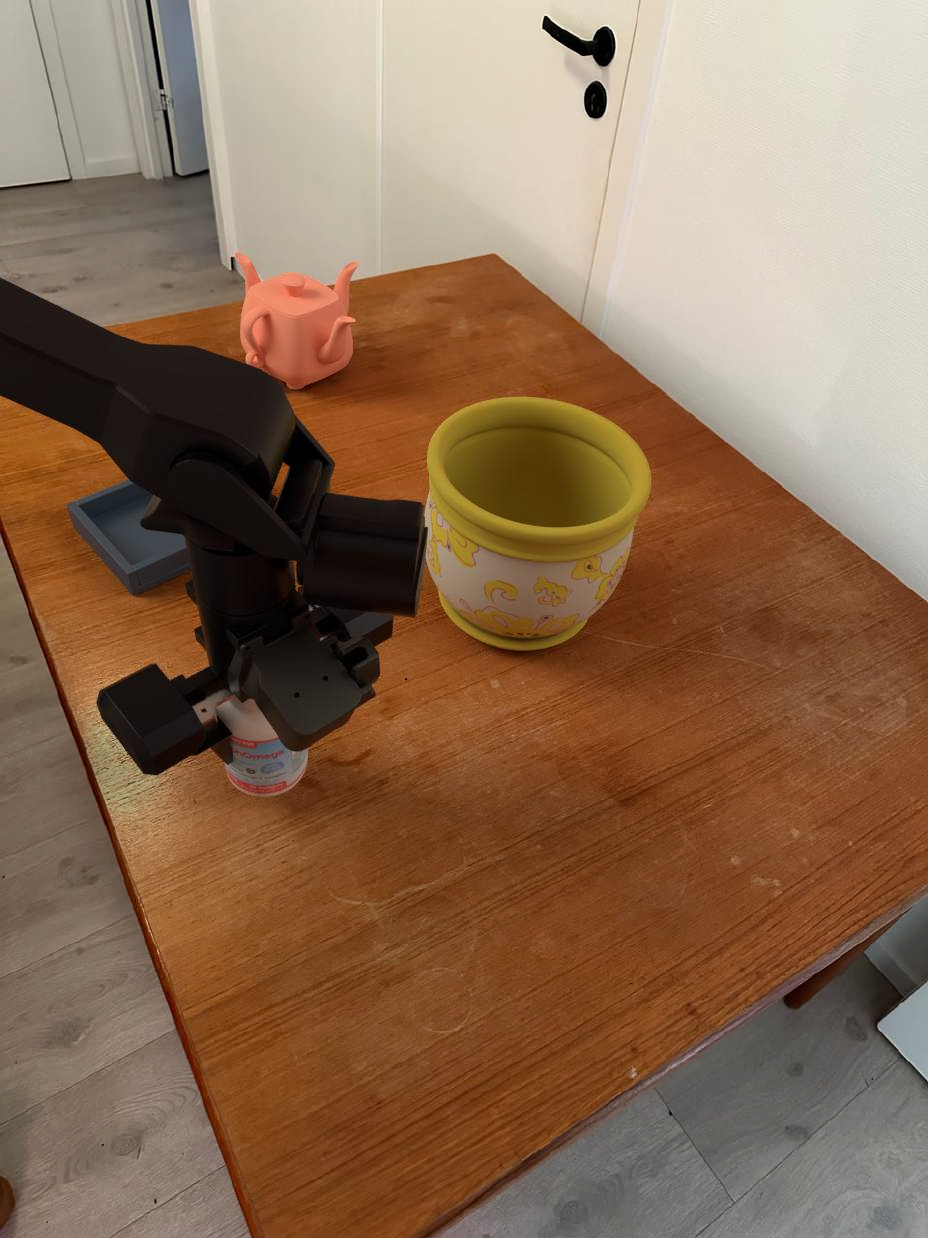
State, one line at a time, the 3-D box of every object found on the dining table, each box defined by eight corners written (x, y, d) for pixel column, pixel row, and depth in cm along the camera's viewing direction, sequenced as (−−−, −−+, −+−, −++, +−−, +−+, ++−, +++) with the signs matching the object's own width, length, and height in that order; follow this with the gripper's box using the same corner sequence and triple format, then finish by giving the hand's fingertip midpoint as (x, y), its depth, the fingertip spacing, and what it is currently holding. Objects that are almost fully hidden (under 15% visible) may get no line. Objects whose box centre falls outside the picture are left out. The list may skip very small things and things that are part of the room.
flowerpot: (418, 531, 86) (427, 388, 74) (596, 540, 88) (633, 401, 76) (415, 672, 74) (426, 528, 62) (622, 680, 75) (672, 541, 63)
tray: (133, 596, 77) (127, 574, 75) (73, 526, 82) (65, 504, 80) (281, 527, 85) (279, 505, 83) (217, 467, 90) (214, 445, 88)
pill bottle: (212, 788, 63) (191, 694, 54) (246, 721, 67) (231, 625, 59) (291, 810, 62) (282, 718, 54) (321, 741, 66) (317, 647, 58)
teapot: (243, 333, 108) (234, 246, 100) (358, 339, 110) (359, 254, 102) (229, 398, 98) (218, 307, 90) (355, 404, 100) (355, 315, 92)
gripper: (170, 757, 42) (210, 899, 53) (457, 590, 51) (438, 741, 63) (64, 622, 47) (121, 778, 58) (342, 492, 56) (344, 648, 68)
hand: (265, 736), depth 62 cm, fingers closed on pill bottle, 6 cm apart
